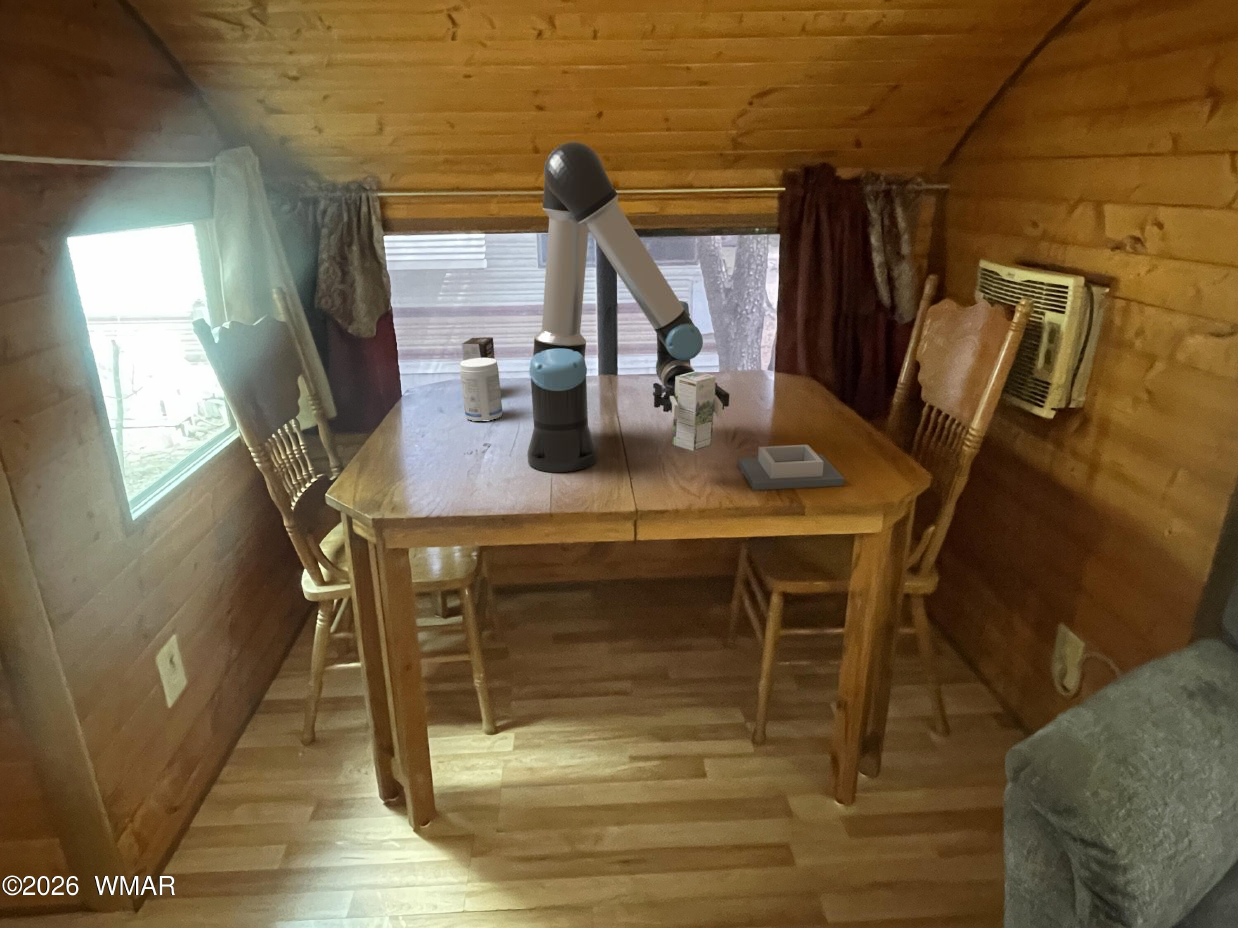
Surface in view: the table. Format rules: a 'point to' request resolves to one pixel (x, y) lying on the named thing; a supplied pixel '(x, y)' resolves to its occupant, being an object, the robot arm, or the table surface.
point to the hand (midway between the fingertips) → (698, 411)
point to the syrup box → (694, 410)
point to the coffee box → (478, 348)
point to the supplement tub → (481, 389)
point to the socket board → (789, 468)
